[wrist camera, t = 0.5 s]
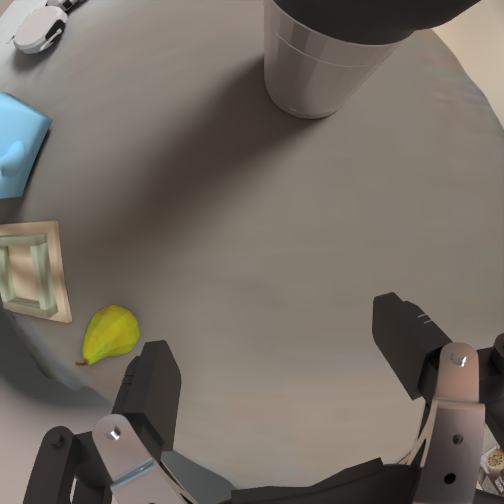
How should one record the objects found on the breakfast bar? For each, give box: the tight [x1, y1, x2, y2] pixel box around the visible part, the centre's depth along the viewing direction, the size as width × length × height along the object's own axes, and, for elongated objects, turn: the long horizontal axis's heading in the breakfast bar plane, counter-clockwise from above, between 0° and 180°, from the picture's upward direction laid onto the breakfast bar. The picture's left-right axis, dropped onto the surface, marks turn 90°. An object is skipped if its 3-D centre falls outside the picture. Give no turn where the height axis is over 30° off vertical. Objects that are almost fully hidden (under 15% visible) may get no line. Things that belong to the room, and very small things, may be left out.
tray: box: [0, 220, 72, 323], centre depth 31 cm, size 14×14×4 cm
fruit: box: [76, 304, 140, 366], centre depth 28 cm, size 6×6×12 cm
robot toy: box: [7, 0, 78, 54], centre depth 23 cm, size 12×4×15 cm
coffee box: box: [478, 444, 504, 496], centre depth 32 cm, size 9×6×16 cm
